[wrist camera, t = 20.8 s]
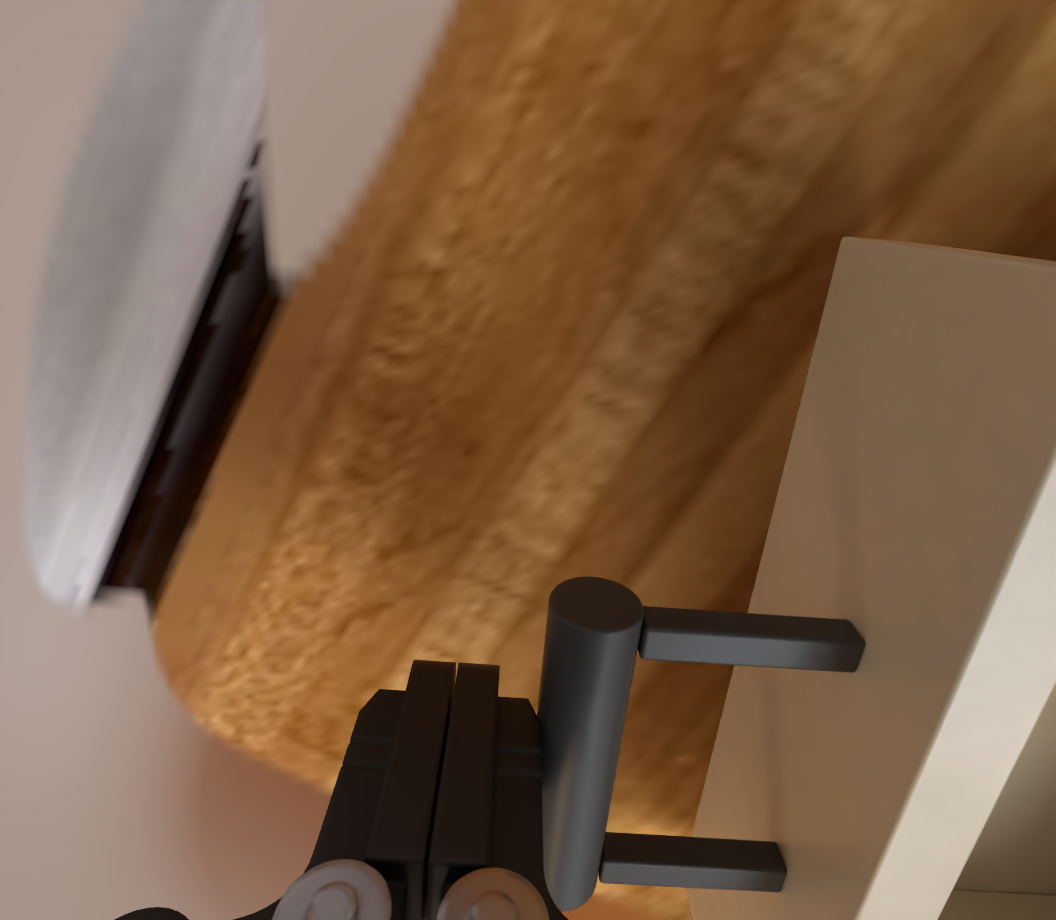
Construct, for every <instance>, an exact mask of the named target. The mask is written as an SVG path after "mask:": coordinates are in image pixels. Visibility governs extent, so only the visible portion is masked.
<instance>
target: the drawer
mask: <svg viewBox="0 0 1056 920" xmlns="http://www.w3.org/2000/svg"><path fill="white" fill-rule="evenodd" d="M637 649H638V652H639V655H640V658H641V659H644V660H659V661H675V662H691V663H706V664H722V665H734V669H733V673H732V677H731V680H730V684H729V688H728V692H727V696H726V700H725V704H724V708H723V712H722V716H721V720H720V724H719V728H718V732H717V736H716V740H715V744H714V748H713V752H712V756H711V760H710V764H709V768H708V772H707V776H706V780H705V784H704V788H703V792H702V796H701V800H700V804H699V808H698V812H697V816H696V820H695V824H694V828H693V832H692V836H691V837H684V836H666V835H648V834H630V833H613V832H605V831H606V826H607V820H608V814H609V808H610V803H611V797H612V791H613V786H614V780H615V774H616V769H617V763H618V757H619V752H620V746H621V740H622V735H623V729H624V723H625V718H626V712H627V706H628V700H629V695H630V689H631V683H632V678H633V672H634V666H635V661H636V655H637ZM537 717H538V719H539V721H540V723H541V763H542V776H541V779H542V811H543V859H544V876H545V881H546V885H547V888H548V891H549V893H550V895H551V898H552V899H553V901H554V903H555V904H556V906H557V908H558V909H559V910H560V911H570V910H573V909H576V908H578V907H580V906H582V905H583V904H584V903H585V902H587V901H588V899H589V898H590V897H591V896H592V894H593V892H594V890H595V887H596V882H597V877H598V871H599V879H600V882H601V883H611V884H630V885H648V886H667V887H686V891H687V896H688V900H689V905H690V909H691V914H692V918H693V920H1056V261H1049V260H1042V259H1034V258H1027V257H1019V256H1012V255H1004V254H997V253H989V252H982V251H974V250H967V249H959V248H952V247H944V246H937V245H929V244H922V243H914V242H907V241H895V240H883V239H870V238H858V237H843V238H842V240H841V243H840V247H839V251H838V255H837V259H836V263H835V267H834V271H833V275H832V279H831V283H830V287H829V291H828V295H827V299H826V303H825V307H824V311H823V315H822V319H821V323H820V327H819V331H818V334H817V338H816V342H815V346H814V350H813V354H812V358H811V362H810V366H809V370H808V374H807V378H806V382H805V386H804V390H803V394H802V398H801V402H800V406H799V410H798V414H797V418H796V422H795V426H794V430H793V434H792V438H791V442H790V446H789V450H788V454H787V458H786V462H785V466H784V470H783V474H782V478H781V482H780V486H779V490H778V494H777V498H776V502H775V505H774V509H773V513H772V517H771V521H770V525H769V529H768V533H767V537H766V541H765V545H764V549H763V553H762V557H761V561H760V565H759V569H758V573H757V577H756V581H755V585H754V589H753V593H752V597H751V601H750V605H749V609H748V613H739V612H724V611H709V610H694V609H678V608H663V607H648V606H642V603H641V601H640V599H639V598H638V597H637V595H636V594H635V593H634V592H633V591H631V590H630V589H629V588H627V587H625V586H624V585H622V584H620V583H617V582H615V581H612V580H608V579H604V578H599V577H577V578H572V579H569V580H566V581H564V582H562V583H560V584H558V585H557V586H556V587H555V588H554V590H553V591H552V593H551V595H550V598H549V607H548V617H547V626H546V635H545V645H544V654H543V664H542V673H541V683H540V692H539V702H538V711H537Z"/></svg>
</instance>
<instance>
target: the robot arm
mask: <svg viewBox="0 0 1056 920" xmlns="http://www.w3.org/2000/svg"><path fill="white" fill-rule="evenodd" d="M499 670H500V665H488V664H473V663H459V664H458V670H457V676H456V663H455V662H441V661H426V660H414V661H413V664H412V668H411V672H410V676H409V680H408V684H407V688H406V691H400V690H385V689H379V690H378V691H377V692H376V693H375V695H374V696H373V697H372V698H371V699H370V700H369V701H368V702H367V704H366V705H365V706H364V707H363V708H362V709H361V710H360V711H359V714H358V717H357V720H356V723H355V726H354V730H353V733H352V736H351V740H350V744H349V745H348V748H347V751H346V754H345V757H344V760H343V766H342V767H341V769H340V772H339V775H338V779H337V782H336V785H335V788H334V791H333V794H332V797H331V800H330V803H329V806H328V809H327V812H326V815H325V818H324V822H323V825H322V828H321V831H320V834H319V837H318V840H317V843H316V846H315V849H314V852H313V855H312V857H311V860H310V863H309V865H308V866H307V868H306V870H305V872H304V873H303V875H301V876H300V877H299V878H298V879H297V880H295V881H294V883H293V884H292V885H291V886H290V887H289V888H288V889H287V891H286V892H285V894H284V895H283V896H282V897H281V898H280V899H278V900H277V901H276V902H274V903H272V904H271V905H269V906H268V907H266V908H264V909H262V910H260V911H258V912H256V913H253V914H250V915H247V916H245V917H241V918H238V919H235V920H568V919H567V918H566V917H565V916H564V915H563V914H562V913H561V911H560V910H559V909H558V908H557V906H556V904H555V903H554V901H553V899H552V898H551V895H550V893H549V891H548V888H547V885H546V881H545V876H544V859H543V811H542V779H541V776H542V763H541V723H540V721H539V719H538V717H537V715H536V713H535V711H534V709H533V707H532V705H531V704H530V702H529V700H528V699H525V698H510V697H498V686H499ZM455 678H456V683H455ZM115 920H188V919H187V918H186V916H184V915H183V914H181V913H180V912H178V911H175V910H172V909H169V908H161V907H155V908H145V909H141V910H136V911H133V912H131V913H128V914H125V915H123V916H121V917H119V918H117V919H115Z"/></svg>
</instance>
